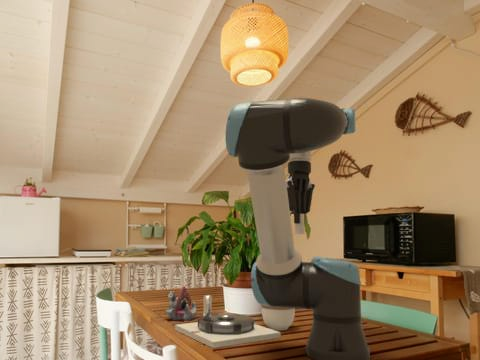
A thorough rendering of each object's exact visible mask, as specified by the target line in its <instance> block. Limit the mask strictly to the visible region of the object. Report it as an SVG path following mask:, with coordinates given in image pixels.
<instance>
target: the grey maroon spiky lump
mask: <svg viewBox="0 0 480 360" xmlns="http://www.w3.org/2000/svg"><path fill="white" fill-rule="evenodd" d="M167 297H168V298H169V302H168V308H169V309H165V310H164V313H166V315H168V317H169V318H170V319H171V320H172V321H176V322H177V321H183V322H186V321H187V322H188V321H190V322H191V321H192V320H195V318H197V315H198V308H197V306H196V302H194V301H193V302H192V300H191V296H190V293H189V292H188V290H187V288H186V285H182V287H181V290H180V291H179V294H178V296H177V297H176V293H175V291H174V290H173V291H169V293H168V296H167Z"/></svg>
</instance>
